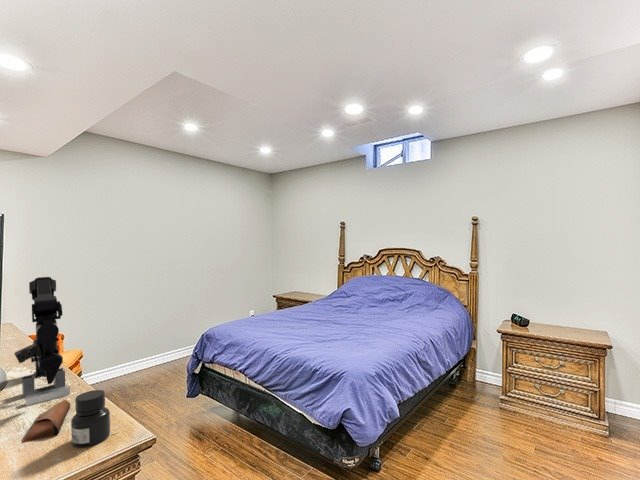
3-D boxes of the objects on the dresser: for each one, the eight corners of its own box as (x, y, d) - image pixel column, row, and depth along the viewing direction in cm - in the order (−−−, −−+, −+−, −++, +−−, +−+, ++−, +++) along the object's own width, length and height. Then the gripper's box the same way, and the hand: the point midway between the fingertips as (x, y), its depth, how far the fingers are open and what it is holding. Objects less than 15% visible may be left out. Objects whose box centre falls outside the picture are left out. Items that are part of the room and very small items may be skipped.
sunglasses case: (37, 414, 110) (50, 394, 112) (61, 421, 113) (73, 401, 115) (20, 444, 94) (35, 419, 96) (48, 450, 97) (63, 426, 99)
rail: (25, 404, 119) (25, 396, 119) (68, 393, 127) (68, 385, 127) (26, 407, 117) (26, 398, 117) (70, 395, 125) (69, 387, 125)
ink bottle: (67, 439, 96) (66, 395, 96) (103, 426, 103) (102, 385, 103) (77, 453, 90) (76, 406, 90) (115, 438, 96) (114, 394, 96)
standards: (22, 394, 127) (22, 376, 127) (63, 383, 135) (62, 367, 135) (23, 397, 123) (23, 380, 123) (65, 387, 132) (64, 370, 132)
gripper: (13, 335, 123) (15, 380, 123) (18, 346, 110) (20, 395, 110) (53, 329, 131) (54, 371, 131) (62, 338, 117) (63, 384, 117)
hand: (47, 380), depth 122 cm, fingers open, 9 cm apart
